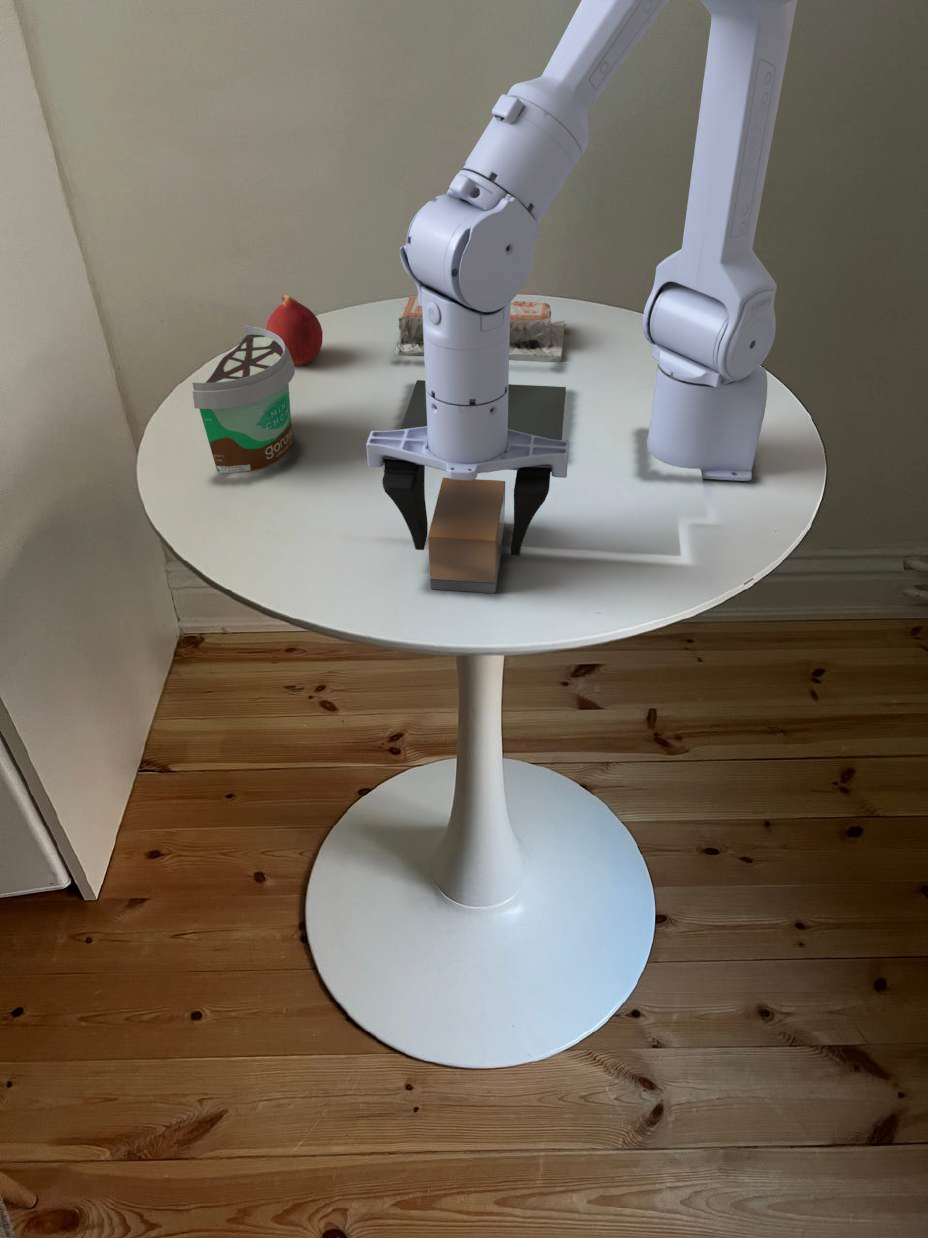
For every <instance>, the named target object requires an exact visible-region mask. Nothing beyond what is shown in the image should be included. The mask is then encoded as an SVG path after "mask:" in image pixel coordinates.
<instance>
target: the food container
mask: <svg viewBox="0 0 928 1238" xmlns="http://www.w3.org/2000/svg"><path fill="white" fill-rule="evenodd" d="M243 329H244V335H245V337H243V338H242V340H241V342H240V343H239V344H238V345H237V346H236V347H235V349H233V350H232V351H229V352H228V353H227V354H226V355H225V356H223V357H222V358H221V360H220V362H219V363H218V364H217V366H216V368H215V370H214V371H213V373H212V374H211V375H210V377H209V378H208V379H207V380H205V381H206V382H194V381H193V382H192V388H193V390H192V397H193V405H194V406H193V407H194V409H197V410H199V413H200V416H201V420H202V423H203V427H204V430H205V435H206V437H207V439H208V440H207V441H208V444H209V447H210V452H211V455H212V459H213V462H214V465H215V468H216V473H222V474H235V473H244V472H245V473H246V472H247V473H248V472H252V471H255V470H259V469H263V468H265V467H268V466H270V465H271V464H274V463H277V462H278V461H280V460H281V459H282V458H284V457H285V456H286V455H287V454H288V453H289V452H290V450H291V448H292V446H293V442H294V441H293V428H292V414H291V413H292V412H291V400H290V399H291V398H290V386H289V385H290V384H289V383H290V382H291V381H292V379H293V378H294V376H295V373H296V368H295V367H296V366H294V363H293V360H292V358H291V355H290V353H289V350H288V348H287V346H286V345H285V344H284V342H283V340H282V339H281V338H280V337H279V336H278V335H276V334H275V333H273V332H270V331H268V330H266V328H261V327H258V326H253V325H243Z"/></svg>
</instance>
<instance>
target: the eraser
mask: <svg viewBox="0 0 928 1238" xmlns="http://www.w3.org/2000/svg"><path fill="white" fill-rule="evenodd" d="M441 479H442V480H441V483H440V487H439V491H438V494H437V499H436V503H435V506H434V511H433V515H432V518H431V519H432V520H431V523H430V526H429V531H428V535H427V544H428V546H427V547H428V565H429V566H428V567H429V568H428V569H429V589H430V590H439V591H455V592H467V593H468V592H469V593H470V592H471V593H485V594H496V591H497V585H498V578H499V570H500V566H501V565H500V564H501V557H502V551H503V543H502V541H503V537H504V536H503V535H504V529H505V523H506V521H505V520H506V481H505V480H498V479H497V480H495V479H480V478H479V479H478V478H476V479H474V480H453V479H449V478H448V477H442V478H441Z"/></svg>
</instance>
